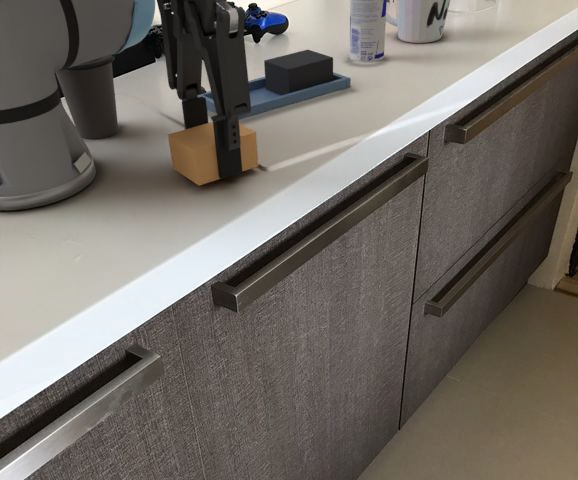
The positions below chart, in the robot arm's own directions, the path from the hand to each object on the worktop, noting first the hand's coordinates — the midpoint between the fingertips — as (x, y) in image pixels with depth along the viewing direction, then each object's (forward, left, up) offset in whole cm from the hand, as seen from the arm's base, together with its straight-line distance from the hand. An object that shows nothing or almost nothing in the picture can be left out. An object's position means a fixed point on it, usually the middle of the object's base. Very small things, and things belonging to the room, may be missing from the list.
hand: (215, 165), depth 77 cm
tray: (+20, +17, -1) cm, 26 cm away
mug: (+57, +28, -1) cm, 63 cm away
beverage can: (+42, +22, -1) cm, 47 cm away
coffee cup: (-5, +23, -1) cm, 23 cm away
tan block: (0, 0, 0) cm, 0 cm away
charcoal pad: (+25, +17, 0) cm, 30 cm away
